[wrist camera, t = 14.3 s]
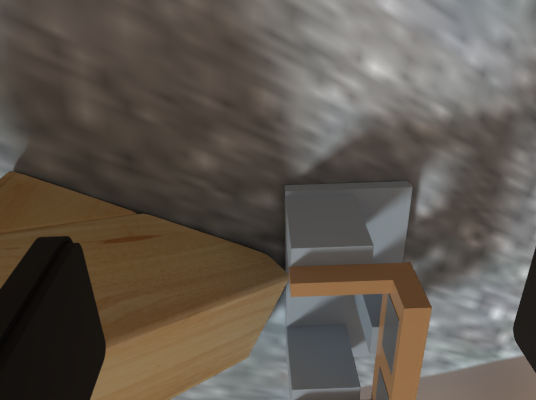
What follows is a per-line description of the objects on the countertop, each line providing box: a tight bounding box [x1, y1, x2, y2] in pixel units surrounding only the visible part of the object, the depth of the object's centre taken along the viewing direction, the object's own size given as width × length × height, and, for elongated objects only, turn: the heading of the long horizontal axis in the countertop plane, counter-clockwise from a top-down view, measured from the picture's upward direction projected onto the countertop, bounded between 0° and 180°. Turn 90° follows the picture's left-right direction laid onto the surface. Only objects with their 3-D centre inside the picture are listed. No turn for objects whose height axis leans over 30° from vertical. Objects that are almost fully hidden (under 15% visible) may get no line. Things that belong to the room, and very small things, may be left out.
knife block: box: [0, 171, 289, 400], centre depth 32 cm, size 11×35×31 cm, turn 67°
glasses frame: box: [289, 262, 432, 400], centre depth 38 cm, size 9×16×5 cm, turn 1°
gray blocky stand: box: [284, 181, 413, 400], centre depth 44 cm, size 11×20×9 cm, turn 2°
